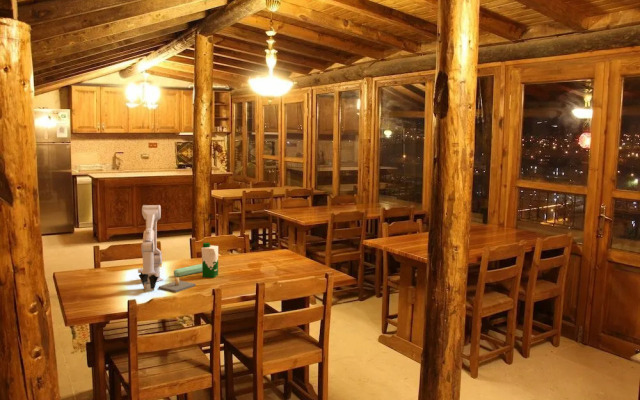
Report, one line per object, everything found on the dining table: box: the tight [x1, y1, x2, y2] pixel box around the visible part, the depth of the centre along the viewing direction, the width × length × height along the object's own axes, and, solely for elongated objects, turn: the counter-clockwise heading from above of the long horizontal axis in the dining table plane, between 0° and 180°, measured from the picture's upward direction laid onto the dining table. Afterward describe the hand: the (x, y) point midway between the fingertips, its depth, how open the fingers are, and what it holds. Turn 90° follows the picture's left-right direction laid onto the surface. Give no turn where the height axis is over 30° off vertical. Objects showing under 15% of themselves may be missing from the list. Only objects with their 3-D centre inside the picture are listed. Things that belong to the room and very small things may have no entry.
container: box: [173, 263, 202, 278], centre depth 338 cm, size 6×6×25 cm
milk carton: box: [200, 242, 219, 279], centre depth 331 cm, size 9×9×20 cm
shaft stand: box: [158, 277, 196, 293], centre depth 309 cm, size 13×15×5 cm
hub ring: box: [143, 281, 155, 292], centre depth 304 cm, size 5×5×4 cm
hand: (149, 287), depth 304 cm, fingers closed on hub ring, 5 cm apart
